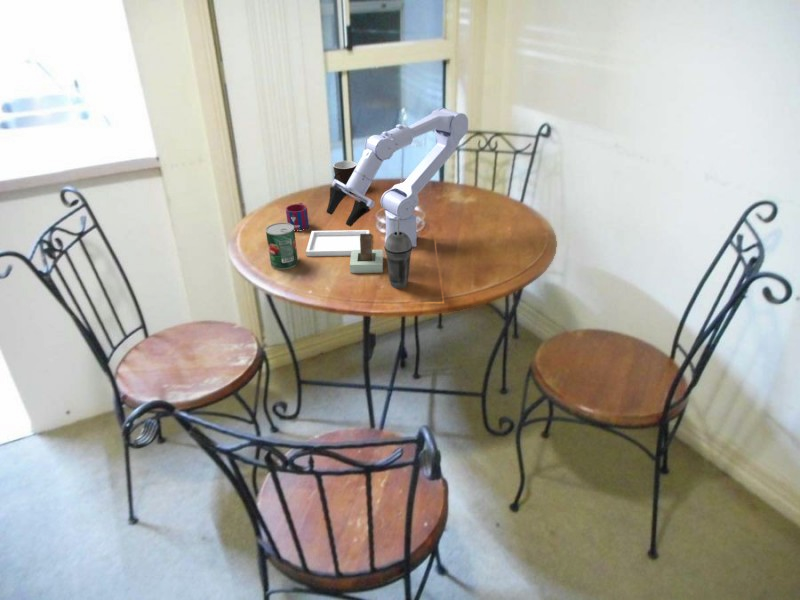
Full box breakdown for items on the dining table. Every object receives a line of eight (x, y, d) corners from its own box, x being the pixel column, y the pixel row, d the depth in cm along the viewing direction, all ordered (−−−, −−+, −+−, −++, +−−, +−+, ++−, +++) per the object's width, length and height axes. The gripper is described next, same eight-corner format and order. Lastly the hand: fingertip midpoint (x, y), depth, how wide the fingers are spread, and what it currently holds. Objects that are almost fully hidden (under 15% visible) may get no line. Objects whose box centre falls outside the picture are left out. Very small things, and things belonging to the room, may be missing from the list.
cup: (285, 230, 182) (282, 211, 179) (296, 218, 191) (293, 199, 187) (304, 232, 181) (302, 212, 178) (315, 219, 189) (313, 200, 186)
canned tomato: (264, 265, 163) (259, 230, 157) (284, 254, 169) (279, 220, 163) (285, 272, 159) (280, 236, 153) (304, 261, 165) (299, 226, 159)
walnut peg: (372, 262, 162) (371, 233, 158) (372, 267, 160) (370, 238, 155) (362, 262, 162) (360, 233, 158) (361, 267, 160) (359, 238, 155)
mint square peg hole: (383, 258, 165) (382, 249, 164) (382, 273, 158) (382, 264, 156) (352, 259, 165) (351, 250, 164) (350, 274, 158) (349, 264, 156)
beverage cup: (411, 278, 155) (411, 210, 145) (413, 292, 149) (413, 222, 139) (385, 279, 155) (383, 211, 145) (385, 293, 149) (383, 223, 138)
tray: (369, 235, 178) (369, 230, 177) (367, 256, 167) (367, 250, 165) (312, 236, 178) (311, 231, 177) (306, 257, 166) (305, 251, 165)
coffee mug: (349, 184, 216) (347, 159, 211) (362, 191, 211) (361, 164, 206) (323, 192, 210) (321, 166, 205) (337, 199, 205) (335, 172, 199)
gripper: (336, 161, 156) (312, 204, 157) (375, 182, 149) (349, 227, 151) (349, 169, 162) (326, 211, 163) (387, 190, 156) (362, 233, 157)
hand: (338, 219), depth 158 cm, fingers open, 7 cm apart
